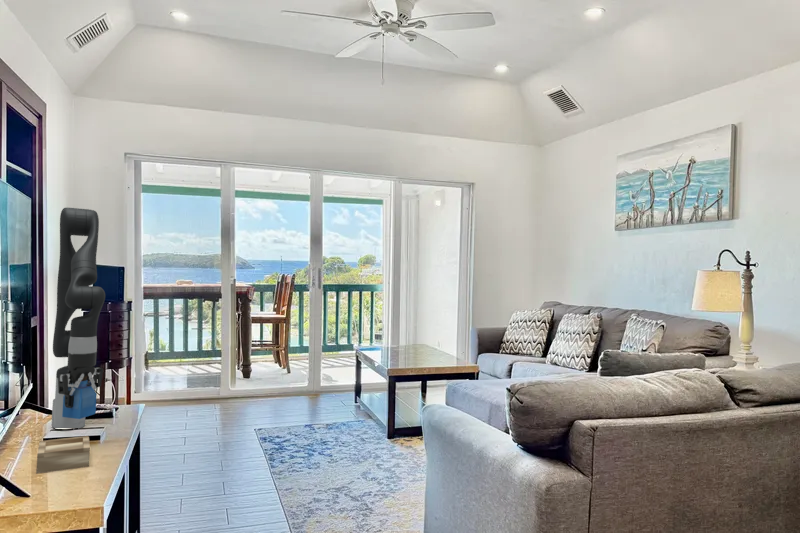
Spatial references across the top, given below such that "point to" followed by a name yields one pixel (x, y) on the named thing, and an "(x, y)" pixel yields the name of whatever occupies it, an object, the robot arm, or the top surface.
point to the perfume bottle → (81, 402)
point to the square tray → (63, 454)
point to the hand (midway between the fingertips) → (79, 404)
